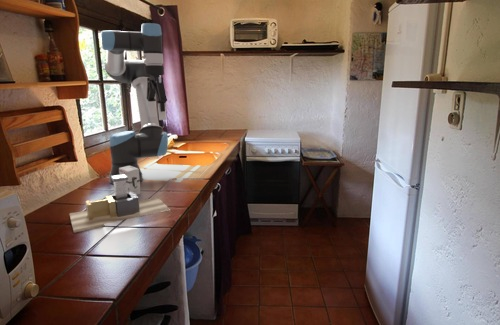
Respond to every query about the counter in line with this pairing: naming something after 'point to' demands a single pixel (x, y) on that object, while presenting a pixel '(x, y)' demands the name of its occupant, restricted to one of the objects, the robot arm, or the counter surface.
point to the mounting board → (145, 207)
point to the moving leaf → (101, 207)
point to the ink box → (131, 178)
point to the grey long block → (120, 186)
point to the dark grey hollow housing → (127, 205)
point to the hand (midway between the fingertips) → (157, 118)
